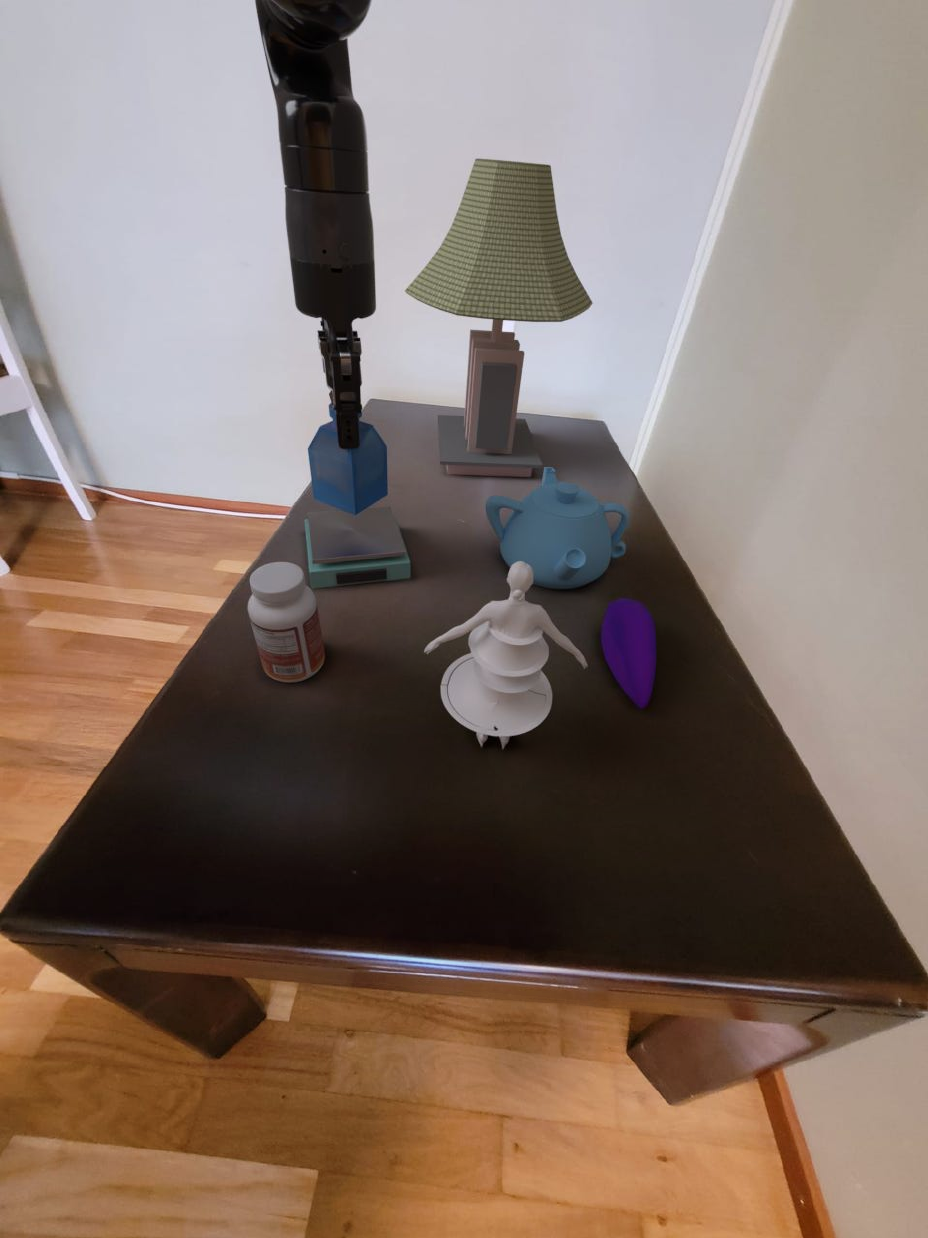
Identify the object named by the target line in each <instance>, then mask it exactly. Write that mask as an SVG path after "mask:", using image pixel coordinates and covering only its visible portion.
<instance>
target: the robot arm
mask: <svg viewBox="0 0 928 1238" xmlns="http://www.w3.org/2000/svg"><path fill="white" fill-rule="evenodd" d="M372 1H373V0H254V2H255V9H256V17H257V21H258V27H259V32H260V38H261V43H262V48H263V53H264V56H265V61H266V62H265V63H266V67H267V72H268V76H269V81H270V84H271V89H272V92H273V97H274V101H275V107H276V115H277V128H278V129H277V131H278V142H279V152H280V161H281V170H282V177H283V184H284V215H285V217H284V218H285V229H286V237H287V238H286V239H287V246H288V253H289V262H290V263H289V264H290V270H291V279H292V286H293V287H292V288H293V296H294V304H295V308H296V309H297V311H298V312H299V313H301V314H302V315H304V316H307V317H310V318H314V319H319V318H320V319H321V320H319V322H320V327H321V330H320V329H319V330H318V329H317V330H316V334H317V342H318V343H317V344H318V349H319V353H320V356H321V364H322V370H323V373H324V375H325V383H326V387H327V388H328V389H329V390H330V392H333V402H334V405H333V410H334V411H335V414H336V425H337V436H338V444H339V447H340V448H341V449H355V448H358V447H359V445H360V440H359V424H358V414H361V410H362V411H363V404H362V396H361V391H362V390H361V386H362V385H363V380H362V379H363V377H362V368H361V367H362V366H361V356H362V353H363V350H362V340H361V337H359V334H358V330H353V322H354V321H355V320H357V319H360V320H363V319H366V318H369V317H371V316H373V315H374V314H375V312H376V310H377V294H376V291H377V290H376V261H375V238H374V237H375V236H374V235H375V234H374V221H373V220H374V219H373V214H372V213H373V212H372V207H371V199H370V198H371V197H370V193H369V192H370V180H369V179H370V178H369V153H368V151H369V147H368V146H369V145H368V134H367V133H368V132H367V125H366V124H367V123H366V118H365V114H364V112H363V110H362V108H361V106H360V104H359V103H358V101H357V100H356V99H355V95H354V92H353V83H352V75H351V73H352V71H351V61H350V52H349V40H348V39H349V38H350V37H351V36H352V35H354V34H355V33H356V32H357V31H358V30H359V29H360V27H361V25H362V24H363V23H364V22H365V20H366V18H367V16H368V14H369V11H370V8H371V5H372ZM330 392H329V393H330ZM341 392H352V395H353V400H349V401H340V393H341Z"/></svg>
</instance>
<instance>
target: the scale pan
mask: <svg viewBox="0 0 928 1238" xmlns="http://www.w3.org/2000/svg"><path fill="white" fill-rule="evenodd" d="M306 513H307V519H308V524H309V534H310V544H311V554H312V563H313V564H320V563H331V562H341V561H352V560H362V559H373V558H384V557H394V556H405V555H406V551H405V548H404V545H403V542H402V539H401V536H400V533H399V530H398V527H397V523H398V522H397V523H396V520H397V519H396V520H395V517H396V516H395V517H394V514H395V513H394V512H393V509H392V506H380V507H368V508H366V509H365V510H363V511H361V512H360V513H358V514H357V515H353V514H350V513H348V512H345V511H343V510H340V509H337V510H325V511H310V512H308V511H307V512H306ZM393 513H394V514H393Z"/></svg>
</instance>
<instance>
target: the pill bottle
mask: <svg viewBox="0 0 928 1238" xmlns="http://www.w3.org/2000/svg"><path fill="white" fill-rule="evenodd" d="M249 586H250V589H251V595H250V597H249V599H248V602H247V614H248V617H249V620H250V621H249V622H250V625H251V628H252V632H253V636H254V639H255V643H256V647H257V650H258V654H259V659H260V662H261V665H262V669H263V671H264V672H265V674H266V675H267V676H268V677H270V678H271V679H272V680H275V681H277V682H281V683H289V684H290V683H299V682H303V681H306V680H307V679H310V678H311V677H312V676H314V675H315V674H316V673H318V672H319V671H320V669H321V668H322V666H323V665H324V662H325V659H326V654H325V646H324V640H323V635H322V629H321V622H320V621H321V620H320V615H319V609H318V603H317V598H316V595H315V592H313V589H312V588H310V587H309V586H308V585H307V582H306V578H305V573H304V571H303V569H302V567H300V566H299V565H297V564H296V563H292V562H288V561H275V562H269V563H265V564H263V565H261V566H259V567H257V568H256V569H254V571H253V572H252V573H251V575H250V577H249Z"/></svg>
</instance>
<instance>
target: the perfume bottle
mask: <svg viewBox="0 0 928 1238" xmlns="http://www.w3.org/2000/svg"><path fill="white" fill-rule="evenodd" d="M328 396H329V400H330V403H329V404H328V414H329V417H330V418H331V419H332V420H331V421H328V422H326V423H324V424H321V425H319V427H318V429H317V431H316V433H315V434H314V436H313V438H312V440H311V442H310V444H309V446H308V448H307V453H308V454H307V455H308V463H309V469H310V479H311V488H312V496H313V500H315V501H318V502H320V503H323V504H326V505H328V506H330V507H333V508H335V509H337V510H343V511H345V512H348V513H350V514H353V515H357V514H358V513H360V512H361V511H363V510H365V509H366V508H370V507H371V506H373V505H374V504H376V503H377V502H379V501H381V500H382V499H383V498H385V497H387V496H388V495H389V492H388V491H389V489H388V488H389V487H388V482H389V481H388V445H387V444H386V443H385V441H384V440H383V438H382V436H380V433H379V432H378V430H376V428H375V427H374V425H373V424H371V423H368V422H364V421H361V420H360V419H361V418H362V416H363V409H362V410H361V414H358V424H359V440H360V445H359V447H358V448H355V449H341V448H340V447H339V444H338V436H337V425H336V414H335V411H334V410H333V405H334V402H333V392H329V393H328ZM349 400H353V395H352V392H341V393H340V401H349Z"/></svg>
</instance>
